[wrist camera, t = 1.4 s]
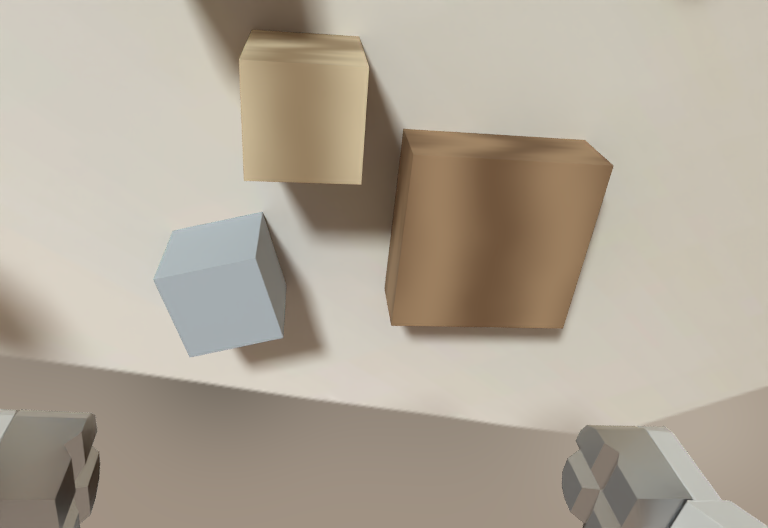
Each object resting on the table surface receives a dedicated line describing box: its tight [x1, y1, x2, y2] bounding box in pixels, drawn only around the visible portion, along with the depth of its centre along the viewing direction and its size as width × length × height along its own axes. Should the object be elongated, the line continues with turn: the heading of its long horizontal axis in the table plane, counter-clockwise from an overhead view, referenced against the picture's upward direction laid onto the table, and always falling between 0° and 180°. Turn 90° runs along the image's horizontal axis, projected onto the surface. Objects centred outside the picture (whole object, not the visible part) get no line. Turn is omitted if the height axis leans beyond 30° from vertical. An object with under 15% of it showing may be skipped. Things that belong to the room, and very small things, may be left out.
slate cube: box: [153, 212, 286, 357], centre depth 32 cm, size 5×5×5 cm
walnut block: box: [385, 129, 613, 328], centre depth 33 cm, size 10×10×4 cm
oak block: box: [239, 30, 369, 185], centre depth 27 cm, size 5×5×6 cm
